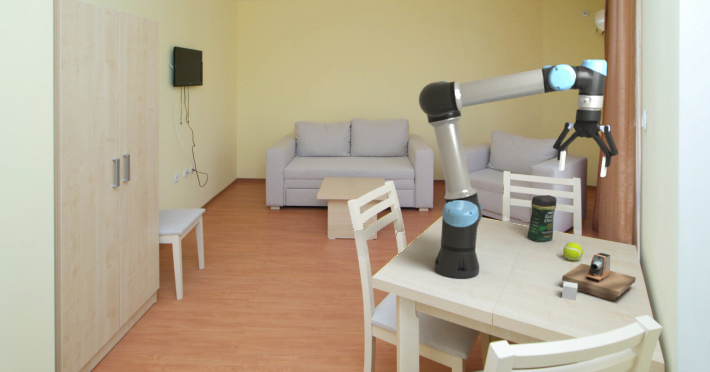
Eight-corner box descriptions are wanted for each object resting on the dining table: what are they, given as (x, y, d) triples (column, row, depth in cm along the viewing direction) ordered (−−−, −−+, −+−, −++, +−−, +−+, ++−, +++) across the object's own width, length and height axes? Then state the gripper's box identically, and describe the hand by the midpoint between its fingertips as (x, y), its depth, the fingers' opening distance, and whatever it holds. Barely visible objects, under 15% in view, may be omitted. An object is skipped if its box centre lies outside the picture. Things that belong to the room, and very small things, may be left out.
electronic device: (584, 279, 164) (587, 256, 162) (595, 271, 170) (598, 249, 169) (599, 283, 161) (602, 260, 159) (610, 275, 167) (613, 253, 166)
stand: (561, 287, 167) (562, 275, 166) (580, 274, 178) (581, 263, 177) (617, 304, 156) (619, 291, 155) (634, 289, 167) (635, 277, 166)
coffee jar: (537, 243, 210) (542, 198, 206) (524, 237, 217) (528, 194, 213) (556, 240, 214) (561, 196, 210) (542, 235, 221) (546, 192, 217)
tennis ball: (564, 262, 189) (566, 245, 188) (560, 256, 196) (562, 239, 194) (583, 264, 188) (586, 246, 187) (579, 257, 195) (581, 240, 193)
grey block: (561, 298, 159) (563, 285, 159) (562, 293, 163) (563, 281, 162) (575, 300, 158) (577, 288, 157) (576, 295, 161) (577, 283, 161)
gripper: (546, 106, 174) (540, 169, 179) (626, 111, 157) (617, 180, 162) (556, 106, 179) (549, 166, 184) (634, 110, 163) (625, 177, 167)
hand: (581, 173), depth 173 cm, fingers open, 13 cm apart
